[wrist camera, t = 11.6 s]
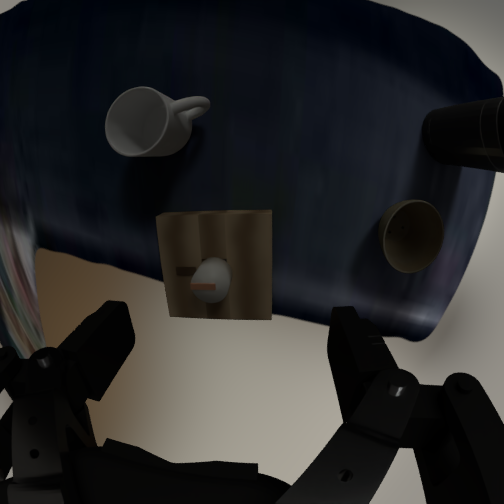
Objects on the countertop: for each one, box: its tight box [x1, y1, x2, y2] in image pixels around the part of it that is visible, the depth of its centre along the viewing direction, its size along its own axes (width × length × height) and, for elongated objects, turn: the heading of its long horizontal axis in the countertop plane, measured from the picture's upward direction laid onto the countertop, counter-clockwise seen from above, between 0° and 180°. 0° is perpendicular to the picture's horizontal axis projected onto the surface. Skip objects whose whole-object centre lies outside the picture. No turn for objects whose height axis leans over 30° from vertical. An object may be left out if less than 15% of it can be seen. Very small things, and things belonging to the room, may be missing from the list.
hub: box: [156, 210, 272, 320], centre depth 40 cm, size 16×16×3 cm
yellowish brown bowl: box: [378, 200, 444, 273], centre depth 35 cm, size 10×10×7 cm
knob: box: [190, 257, 232, 303], centre depth 38 cm, size 5×5×8 cm
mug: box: [105, 87, 210, 157], centre depth 31 cm, size 12×8×10 cm
